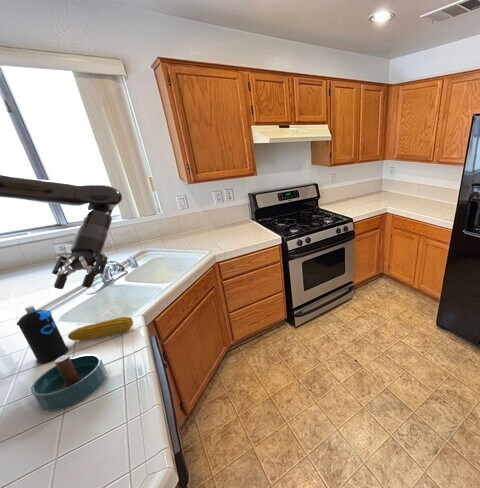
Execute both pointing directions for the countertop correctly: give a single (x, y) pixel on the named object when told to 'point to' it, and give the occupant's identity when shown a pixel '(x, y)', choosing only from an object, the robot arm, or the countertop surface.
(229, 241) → the countertop surface
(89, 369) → the bowl
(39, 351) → the aerosol can
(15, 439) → the countertop surface
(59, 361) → the brown wooden peg
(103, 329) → the food
